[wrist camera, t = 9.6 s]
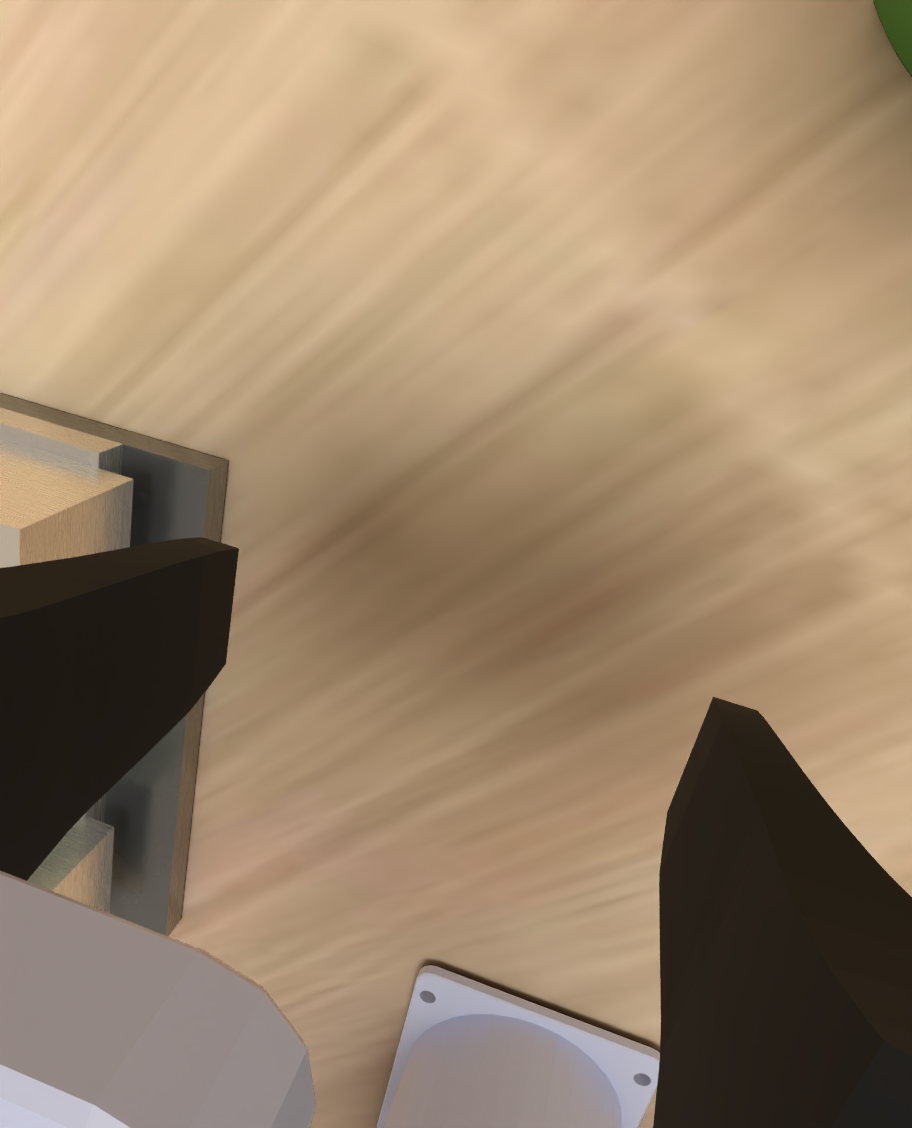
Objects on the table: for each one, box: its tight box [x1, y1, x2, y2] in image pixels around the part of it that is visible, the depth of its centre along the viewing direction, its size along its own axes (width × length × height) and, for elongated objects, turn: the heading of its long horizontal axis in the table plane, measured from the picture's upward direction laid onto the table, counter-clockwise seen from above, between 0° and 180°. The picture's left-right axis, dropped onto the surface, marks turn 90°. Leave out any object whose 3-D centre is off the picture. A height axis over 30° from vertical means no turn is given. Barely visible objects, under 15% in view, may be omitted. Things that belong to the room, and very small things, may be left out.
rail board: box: [0, 393, 228, 936], centre depth 24 cm, size 17×9×6 cm, turn 167°
